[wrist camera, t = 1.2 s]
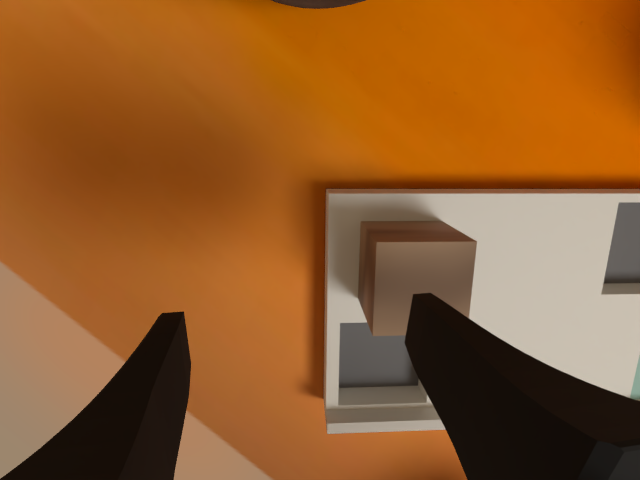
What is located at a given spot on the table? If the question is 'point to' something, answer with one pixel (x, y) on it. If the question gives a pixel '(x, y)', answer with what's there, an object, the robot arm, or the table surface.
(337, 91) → the table surface
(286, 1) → the plant pot
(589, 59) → the table surface
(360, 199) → the tray
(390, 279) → the walnut block
